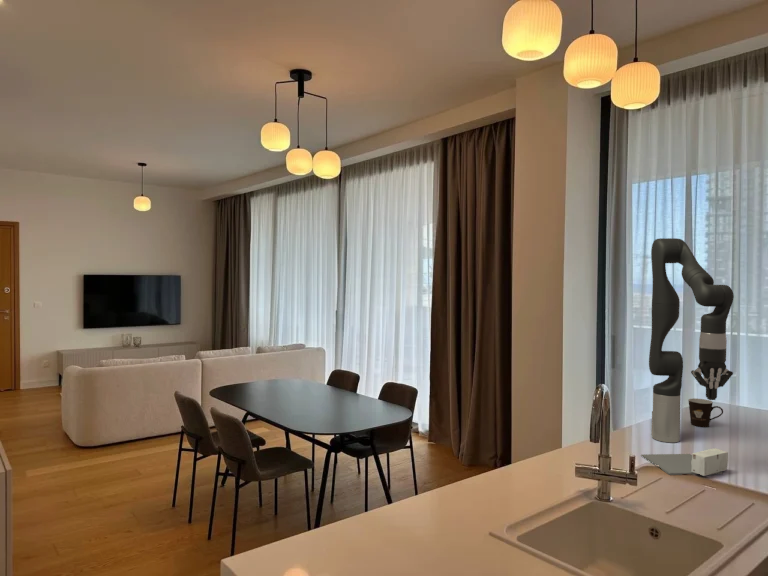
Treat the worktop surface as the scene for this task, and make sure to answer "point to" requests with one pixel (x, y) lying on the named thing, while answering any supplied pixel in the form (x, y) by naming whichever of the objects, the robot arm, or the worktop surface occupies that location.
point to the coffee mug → (701, 412)
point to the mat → (673, 463)
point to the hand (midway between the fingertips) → (711, 399)
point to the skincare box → (709, 461)
